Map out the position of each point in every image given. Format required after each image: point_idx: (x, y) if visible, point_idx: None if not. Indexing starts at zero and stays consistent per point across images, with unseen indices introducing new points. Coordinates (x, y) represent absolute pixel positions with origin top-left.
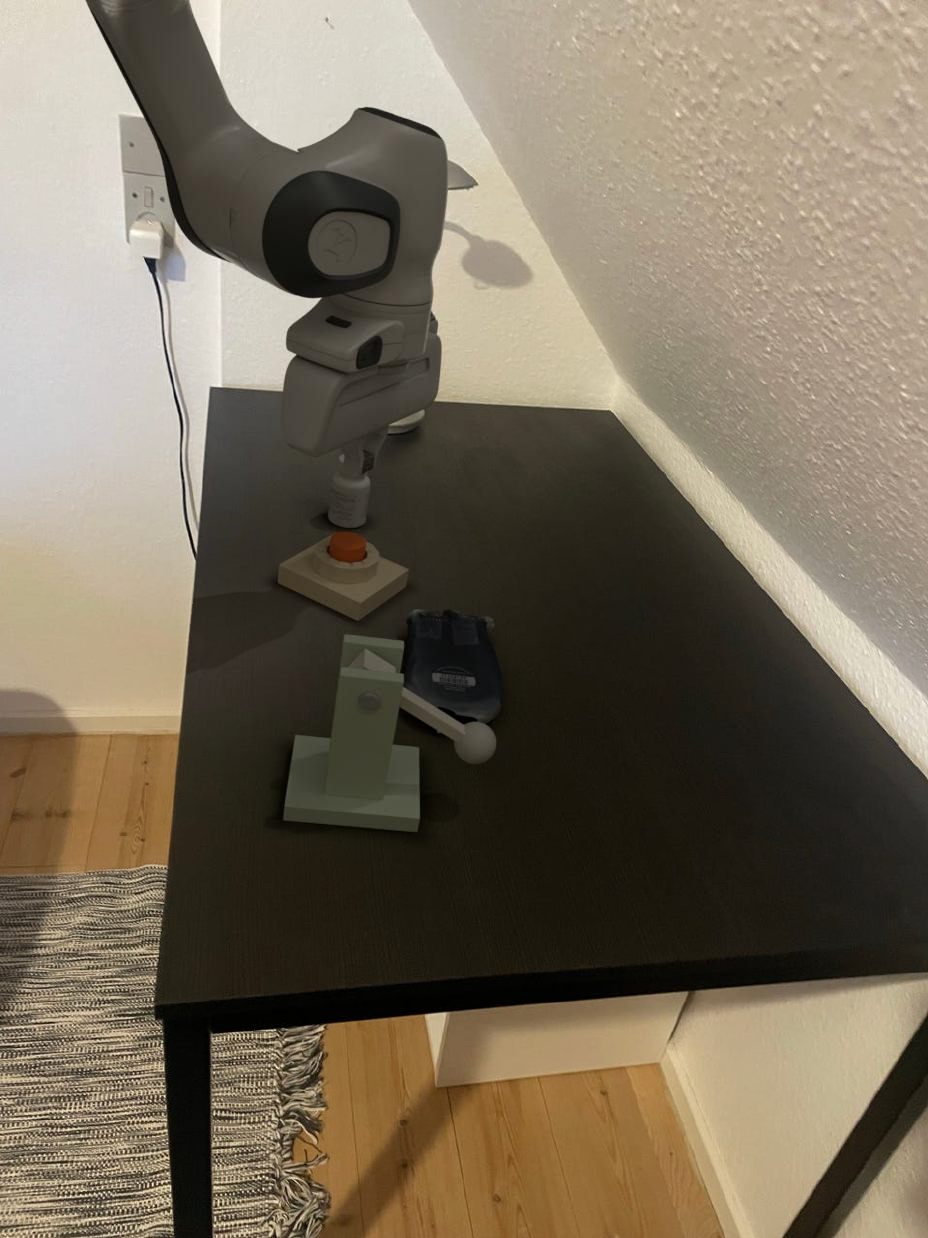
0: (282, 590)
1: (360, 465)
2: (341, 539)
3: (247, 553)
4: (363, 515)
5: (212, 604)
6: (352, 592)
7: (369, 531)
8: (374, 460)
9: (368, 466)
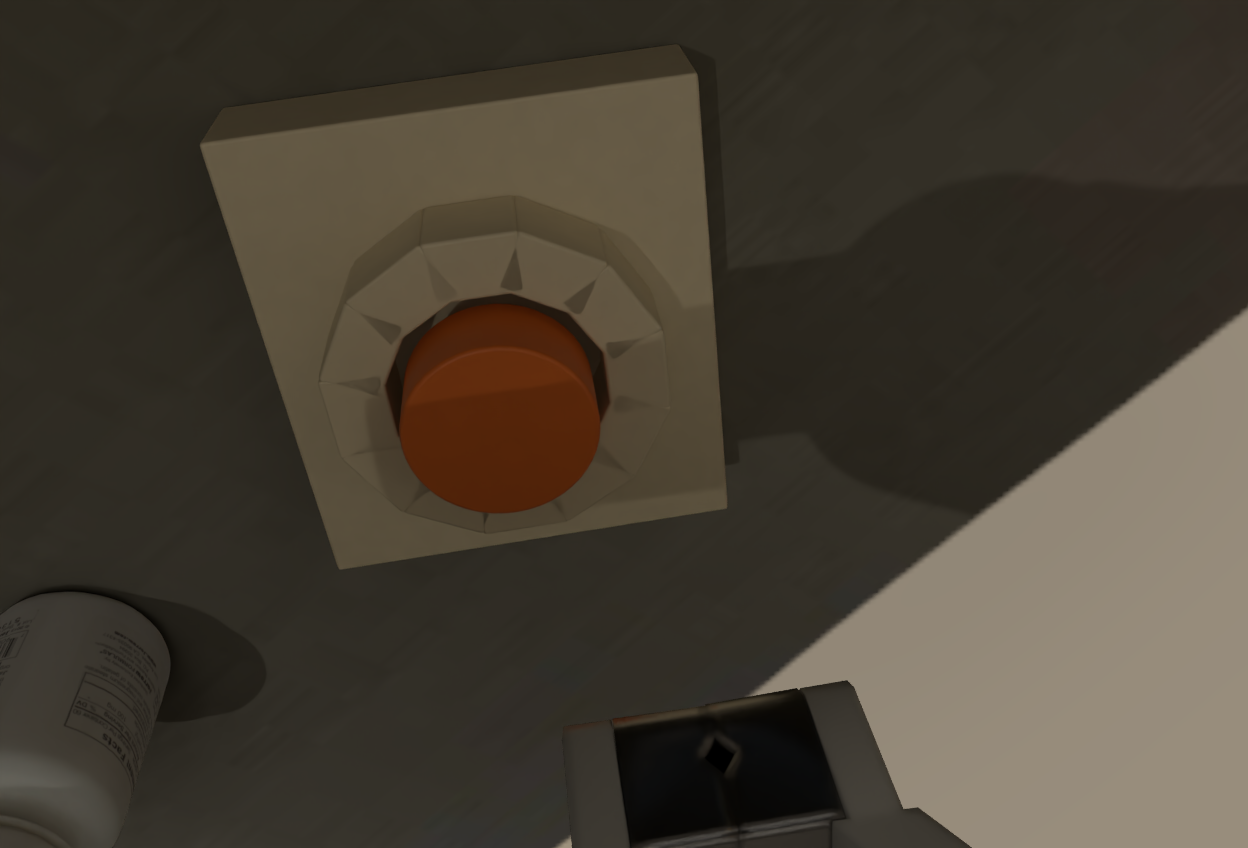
0: (735, 410)
1: (875, 766)
2: (528, 457)
3: (637, 643)
4: (30, 628)
5: (996, 473)
6: (652, 168)
7: (39, 546)
8: (618, 790)
9: (708, 745)
